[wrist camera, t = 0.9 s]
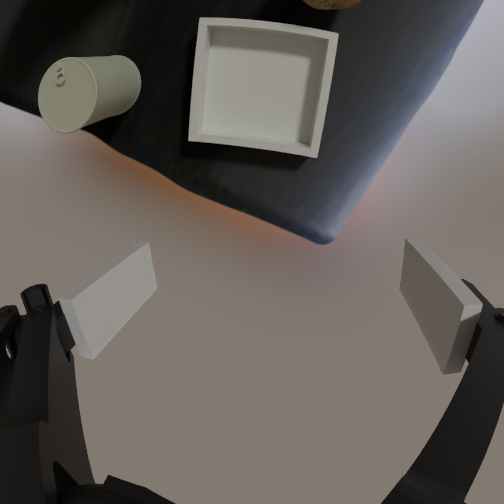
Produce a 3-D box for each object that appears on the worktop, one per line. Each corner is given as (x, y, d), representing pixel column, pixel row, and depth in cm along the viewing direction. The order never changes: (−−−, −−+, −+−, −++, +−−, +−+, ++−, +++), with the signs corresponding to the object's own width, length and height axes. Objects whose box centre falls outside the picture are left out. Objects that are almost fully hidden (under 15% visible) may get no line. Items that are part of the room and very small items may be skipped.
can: (134, 46, 32) (86, 43, 22) (147, 105, 37) (103, 121, 27) (82, 68, 34) (28, 76, 24) (95, 123, 39) (45, 144, 29)
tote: (206, 22, 30) (199, 17, 27) (333, 37, 30) (338, 33, 27) (195, 135, 39) (188, 140, 36) (314, 150, 39) (317, 158, 36)
